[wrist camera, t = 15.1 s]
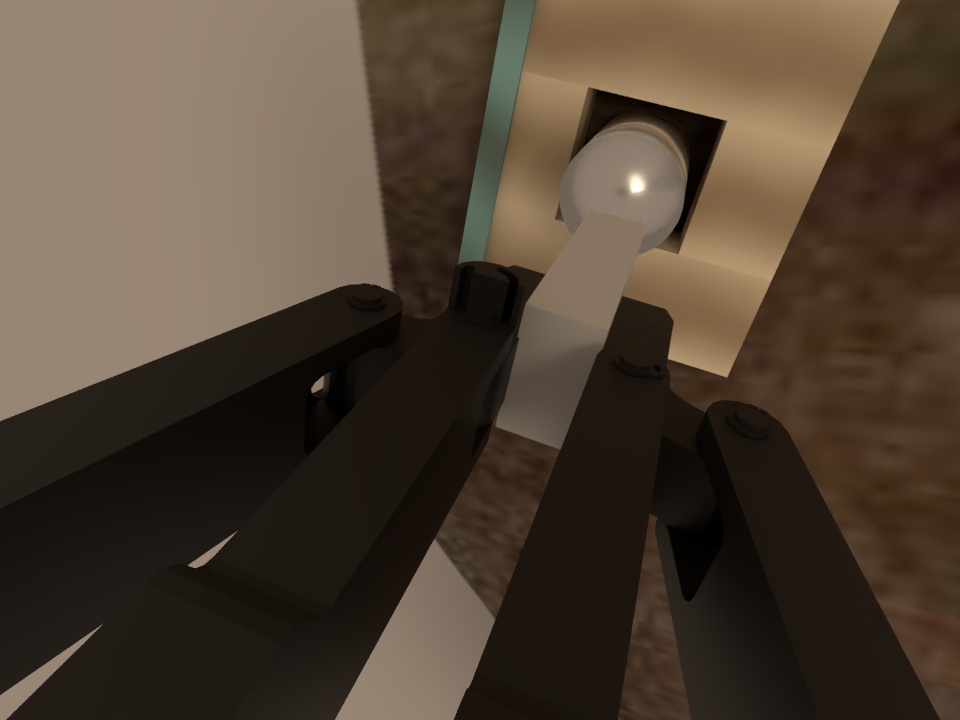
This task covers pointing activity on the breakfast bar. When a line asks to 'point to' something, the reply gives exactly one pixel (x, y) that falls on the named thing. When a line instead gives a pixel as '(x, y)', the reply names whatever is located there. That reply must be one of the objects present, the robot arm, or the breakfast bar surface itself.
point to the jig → (687, 86)
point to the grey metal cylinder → (630, 174)
